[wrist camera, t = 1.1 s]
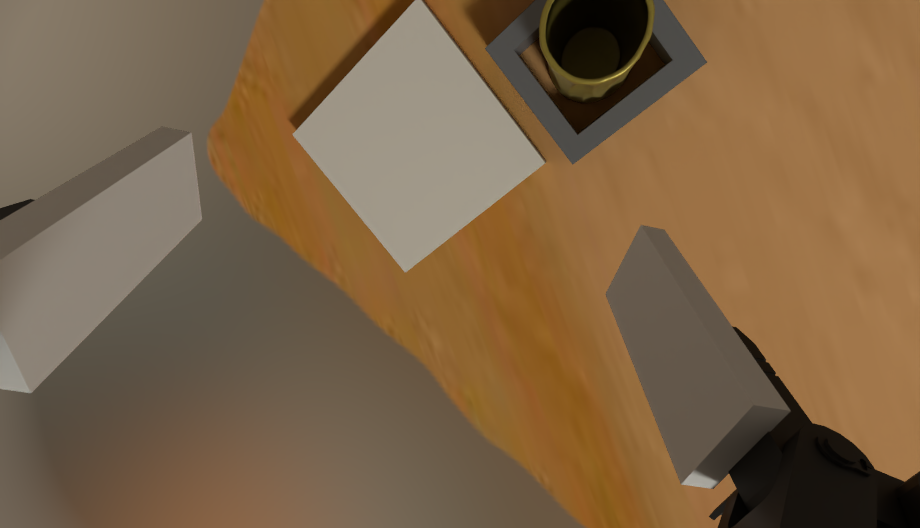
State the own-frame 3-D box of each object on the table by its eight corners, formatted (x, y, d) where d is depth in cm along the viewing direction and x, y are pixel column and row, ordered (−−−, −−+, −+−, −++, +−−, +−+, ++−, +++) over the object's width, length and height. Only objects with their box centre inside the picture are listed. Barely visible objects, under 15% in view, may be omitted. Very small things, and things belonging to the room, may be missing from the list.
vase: (641, 16, 33) (681, -51, 20) (623, 106, 35) (649, 100, 22) (555, 12, 34) (538, -53, 21) (543, 99, 36) (521, 89, 23)
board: (423, 0, 36) (418, -4, 35) (546, 161, 37) (545, 162, 36) (300, 134, 42) (292, 134, 41) (409, 268, 43) (405, 272, 42)
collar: (609, -57, 32) (611, -73, 29) (696, 66, 33) (707, 62, 30) (492, 53, 36) (484, 48, 33) (573, 160, 37) (572, 164, 34)
